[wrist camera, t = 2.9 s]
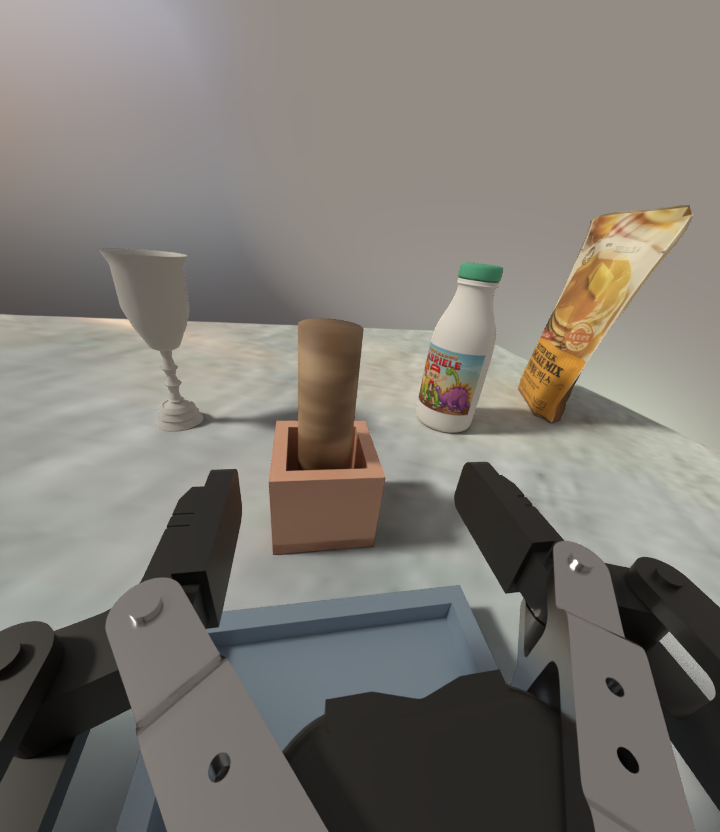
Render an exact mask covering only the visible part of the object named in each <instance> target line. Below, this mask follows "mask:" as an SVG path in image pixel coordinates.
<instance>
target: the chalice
mask: <svg viewBox="0 0 720 832" xmlns="http://www.w3.org/2000/svg"><path fill="white" fill-rule="evenodd" d="M99 251H100V253H101V254H102V255H103V256H104V258H105V259H106V260H107V262H108V263H109V265H110V269H111V273H112V277H113V280H114V284H115V288H116V292H117V295H118V299H119V303H120V307H121V309H122V310H123V312H124V313H125V315H126V317H127V318H128V320H129V321H130V323H131V324H132V326H133V327H134V328H135V330H136V331H137V332H138V333H139V335H140V336H141V337H142V338H143V339H144V341H145V342H146V343H147V344H148V346H149V347H150V348H152V349H155V350H158V351H160V352H161V355H162V357H163V365H162V367H161V369H162V370H164V372H165V373H166V375H167V378H166V381H165V383H164V385H165V386H167V387H168V389H169V391H170V398H169V399H168V401H166V402H164V403H163V404H162V406H161V407H160V412H159V414H158V419H157V421H156V425H157V427H158V428H160V429H162V430H166V431H181V430H187V429H190V428H193V427H195V426H197V425H199V424H200V423H201V422H202V421H203V419H204V417H203V415H202V414H201V413H200V412H199V409H198V408H197V407H196V406H195V404H194V403H193V402H192V401H191V400H189V399H187V398H183V397H181V395H180V393H179V385H180V384H181V383H182V382H181V381H180V380H178V379H177V377H176V375H175V374H176V369H177V367H178V366H176V365H175V363H174V361H173V359H172V350H174V349H176V348H178V347H179V346H180V343H181V340H182V337H183V334H184V332H185V329H186V326H187V320H188V315H189V309H190V306H189V300H188V294H187V288H186V282H185V276H184V270H183V267H184V264H185V261H186V258H187V256H186V255H184V254H179V253H172V252H164V251H153V250H141V249H120V248H105V249H104V248H103V249H99Z"/></svg>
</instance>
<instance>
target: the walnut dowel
mask: <svg viewBox="0 0 720 832" xmlns="http://www.w3.org/2000/svg"><path fill="white" fill-rule="evenodd" d="M362 339H363V327H361V326H360V325H358V324H355V323H352V322H348V321H343V320H336V319H307V320H303V321H301V322H299V323H298V471H304V470H335V469H349V467H350V457H351V447H352V437H353V427H354V418H355V408H356V398H357V388H358V378H359V368H360V358H361V348H362Z"/></svg>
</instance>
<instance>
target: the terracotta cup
mask: <svg viewBox="0 0 720 832" xmlns="http://www.w3.org/2000/svg"><path fill="white" fill-rule="evenodd" d="M384 483H385V475H384V472H383V469H382V467H381V464H380V461H379V458H378V455H377V453H376V450H375V447H374V444H373V441H372V439H371V436H370V433H369V430H368V427H367V425H366V422H365V421H354V427H353V437H352V447H351V457H350V467H349V469H335V470H304V471H298V421H276V429H275V437H274V445H273V452H272V460H271V468H270V476H269V493H270V510H271V527H272V544H273V555H275V554H287V553H300V552H312V551H324V550H336V549H349V548H361V547H373V545H374V540H375V534H376V528H377V523H378V517H379V511H380V505H381V500H382V494H383V488H384Z"/></svg>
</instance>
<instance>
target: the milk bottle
mask: <svg viewBox="0 0 720 832" xmlns="http://www.w3.org/2000/svg"><path fill="white" fill-rule="evenodd" d="M502 273H503V268H502V267H500V266H494V265H486V264H478V263H462V264H461V266H460V270H459V275H458V276H459V278H458V281H457V283H458V289H457V291H456V294H455V296H454V298H453V300H452V302H451V303H450V305H449V307H448V308H447V310H446V311H445V313H444V314H443V315H442V317H441V318H440V320H439V322H438V323H437V325H436V328H435V330H434V333H433V336H432V339H431V343H430V347H429V352H428V356H427V361H426V365H425V370H424V375H423V379H422V384H421V389H420V394H419V399H418V403H417V409H416V414H417V418H418V419H419V421H420V422H421V423H423V424H424V425H426V426H428V427H430V428H432V429H435V430H438V431H442V432H449V433H457V432H462V431H464V430H466V429H467V428H468V427H469V426H470V425H471V422H472V419H473V416H474V413H475V410H476V407H477V403H478V400H479V397H480V394H481V391H482V387H483V384H484V381H485V378H486V374H487V371H488V368H489V364H490V361H491V357H492V353H493V350H494V345H495V339H496V328H495V320H494V312H493V298H494V293H495V290H496V288H498V284H499V283H498V282H499V281H500V280H501V277H502Z"/></svg>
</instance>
